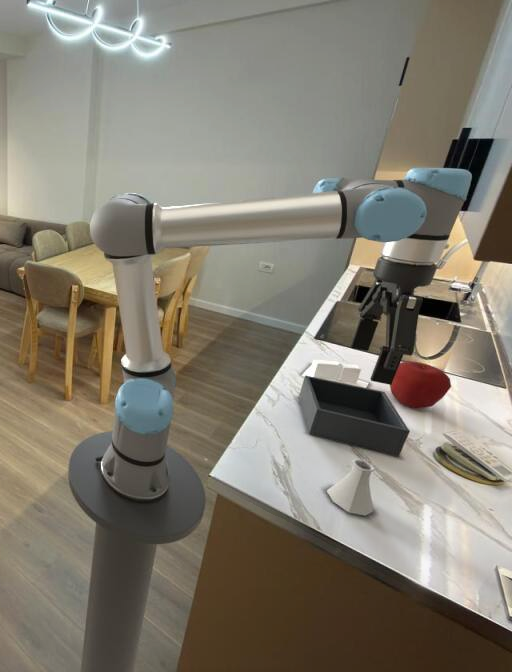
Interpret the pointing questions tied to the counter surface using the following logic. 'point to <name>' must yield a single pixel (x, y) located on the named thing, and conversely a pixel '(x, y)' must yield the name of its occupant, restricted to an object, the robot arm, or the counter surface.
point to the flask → (354, 489)
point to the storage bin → (352, 415)
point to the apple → (419, 384)
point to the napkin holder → (335, 372)
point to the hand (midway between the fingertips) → (368, 364)
